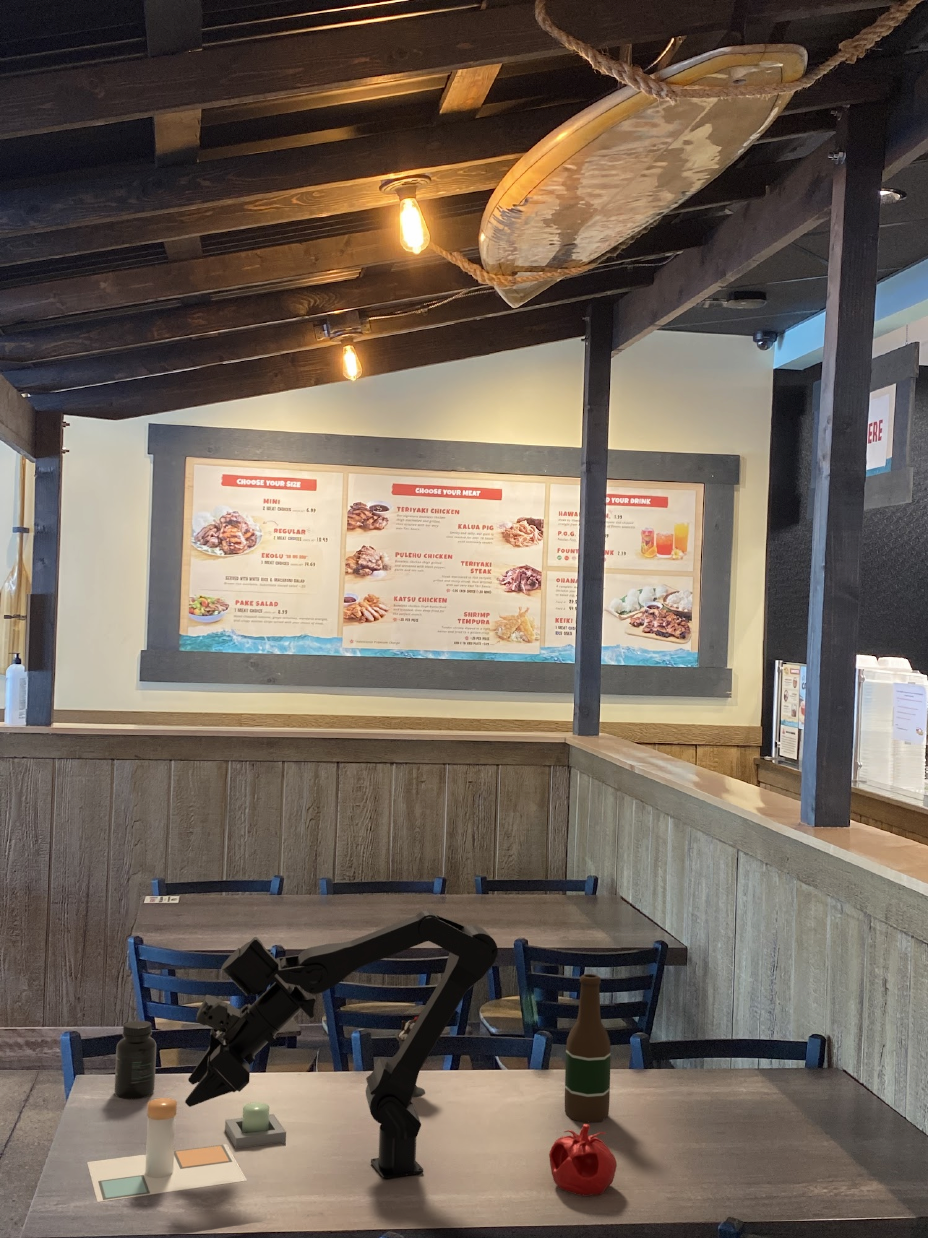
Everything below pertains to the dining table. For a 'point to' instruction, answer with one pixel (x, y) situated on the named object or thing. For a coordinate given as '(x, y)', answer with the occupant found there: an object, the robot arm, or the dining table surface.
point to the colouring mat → (188, 1173)
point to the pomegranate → (582, 1163)
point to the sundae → (401, 1038)
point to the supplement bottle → (135, 1061)
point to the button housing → (255, 1133)
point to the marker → (160, 1137)
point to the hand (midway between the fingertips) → (188, 1093)
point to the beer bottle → (588, 1059)
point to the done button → (255, 1118)
